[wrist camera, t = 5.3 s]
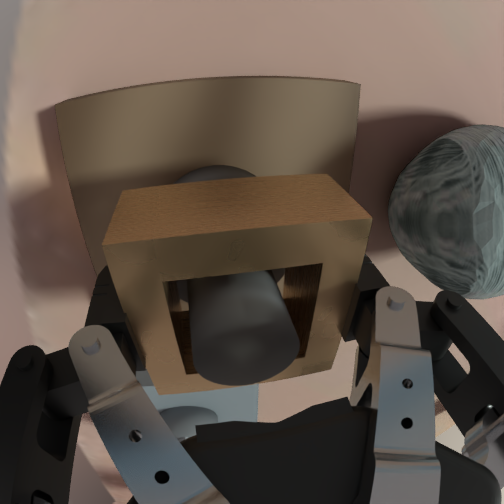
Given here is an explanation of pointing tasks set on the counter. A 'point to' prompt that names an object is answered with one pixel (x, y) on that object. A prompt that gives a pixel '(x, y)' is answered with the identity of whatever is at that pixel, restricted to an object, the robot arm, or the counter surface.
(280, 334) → the stand
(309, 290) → the square wooden frame
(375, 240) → the counter surface
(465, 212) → the teal-grey streaked oval part
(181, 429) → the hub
